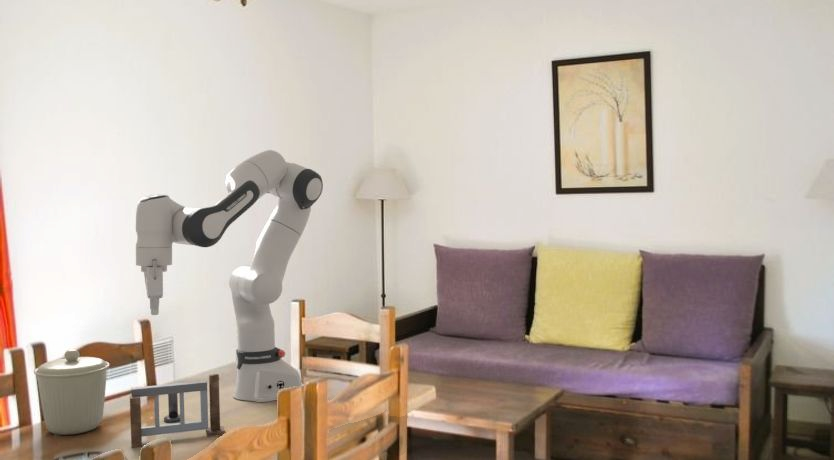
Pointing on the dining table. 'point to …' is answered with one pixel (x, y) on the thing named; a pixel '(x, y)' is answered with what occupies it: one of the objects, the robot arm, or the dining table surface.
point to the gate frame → (214, 413)
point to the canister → (72, 393)
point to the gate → (180, 389)
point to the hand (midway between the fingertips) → (154, 312)
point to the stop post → (172, 409)
